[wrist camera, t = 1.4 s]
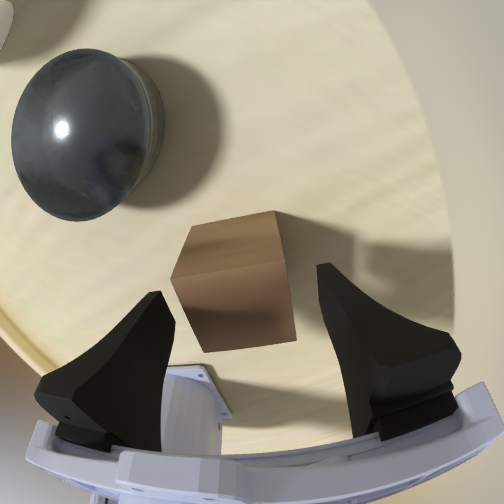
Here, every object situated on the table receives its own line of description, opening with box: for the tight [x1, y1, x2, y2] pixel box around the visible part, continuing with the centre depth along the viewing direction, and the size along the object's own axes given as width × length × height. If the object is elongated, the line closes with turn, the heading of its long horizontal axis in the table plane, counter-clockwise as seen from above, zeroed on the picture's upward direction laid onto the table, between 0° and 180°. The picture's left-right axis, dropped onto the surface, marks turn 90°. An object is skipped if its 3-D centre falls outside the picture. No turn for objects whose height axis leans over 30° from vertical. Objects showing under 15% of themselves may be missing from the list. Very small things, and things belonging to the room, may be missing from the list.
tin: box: [11, 49, 165, 222], centre depth 11 cm, size 8×8×3 cm
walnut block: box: [170, 210, 297, 353], centre depth 14 cm, size 4×4×5 cm
